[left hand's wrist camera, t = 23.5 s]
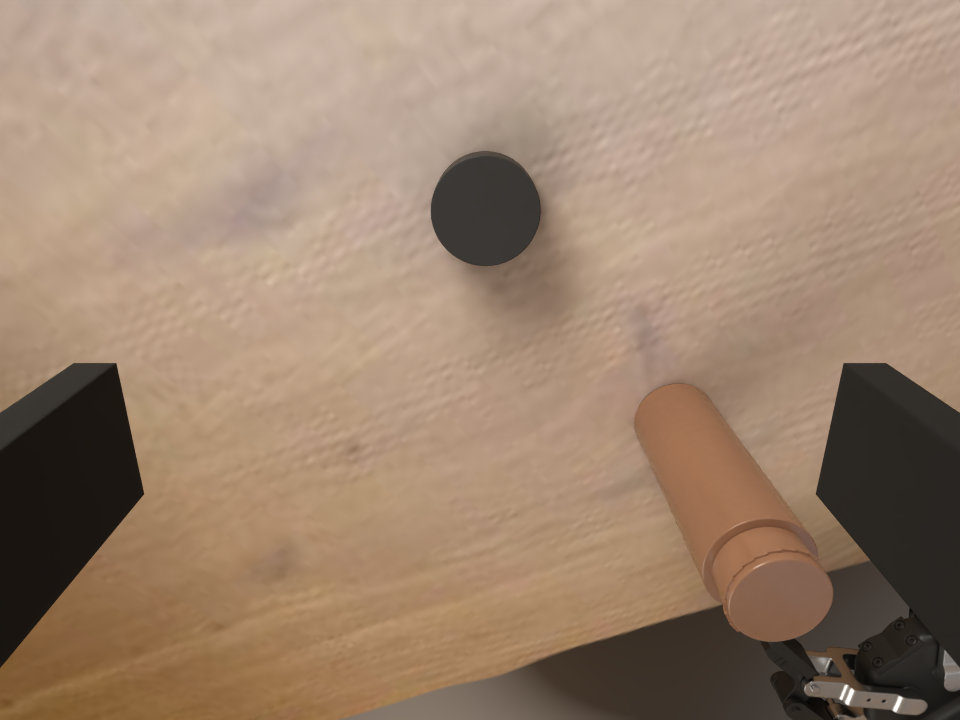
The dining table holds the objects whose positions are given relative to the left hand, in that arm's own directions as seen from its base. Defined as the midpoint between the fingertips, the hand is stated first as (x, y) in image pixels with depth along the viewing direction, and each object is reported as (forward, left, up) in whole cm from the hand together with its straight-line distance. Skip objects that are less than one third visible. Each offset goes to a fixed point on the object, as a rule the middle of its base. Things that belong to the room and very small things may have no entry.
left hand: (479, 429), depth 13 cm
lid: (0, 0, -24) cm, 24 cm away
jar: (+9, -15, -26) cm, 32 cm away
